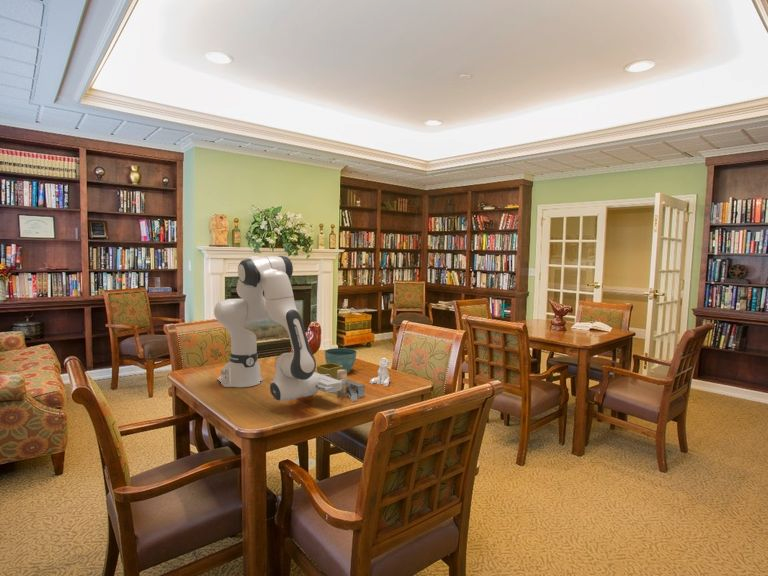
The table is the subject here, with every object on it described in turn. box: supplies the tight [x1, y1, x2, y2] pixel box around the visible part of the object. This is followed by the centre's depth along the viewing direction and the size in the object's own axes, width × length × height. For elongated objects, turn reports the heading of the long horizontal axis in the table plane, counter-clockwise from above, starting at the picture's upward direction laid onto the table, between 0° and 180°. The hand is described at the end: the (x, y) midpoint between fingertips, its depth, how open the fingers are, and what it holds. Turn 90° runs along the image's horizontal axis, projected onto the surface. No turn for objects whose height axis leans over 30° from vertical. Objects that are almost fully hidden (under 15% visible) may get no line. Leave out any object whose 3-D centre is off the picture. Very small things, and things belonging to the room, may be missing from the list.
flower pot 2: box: [324, 347, 358, 374], centre depth 237 cm, size 16×16×11 cm
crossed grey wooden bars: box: [328, 378, 366, 402], centre depth 200 cm, size 18×8×5 cm, turn 43°
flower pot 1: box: [316, 363, 343, 379], centre depth 214 cm, size 9×9×9 cm
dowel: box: [336, 370, 348, 399], centre depth 197 cm, size 4×4×11 cm
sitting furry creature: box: [369, 357, 392, 387], centre depth 219 cm, size 10×9×12 cm
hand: (337, 378), depth 195 cm, fingers open, 8 cm apart
